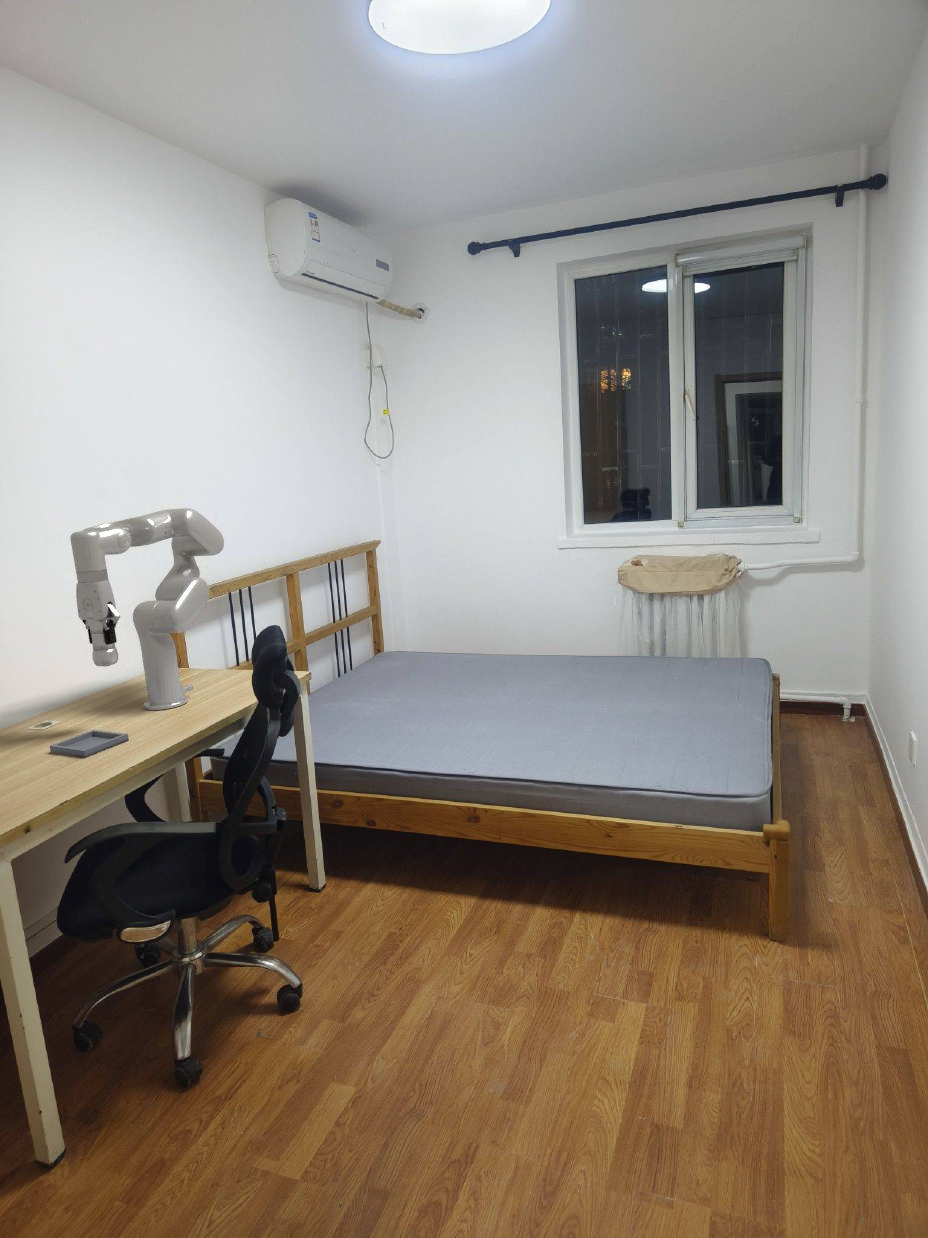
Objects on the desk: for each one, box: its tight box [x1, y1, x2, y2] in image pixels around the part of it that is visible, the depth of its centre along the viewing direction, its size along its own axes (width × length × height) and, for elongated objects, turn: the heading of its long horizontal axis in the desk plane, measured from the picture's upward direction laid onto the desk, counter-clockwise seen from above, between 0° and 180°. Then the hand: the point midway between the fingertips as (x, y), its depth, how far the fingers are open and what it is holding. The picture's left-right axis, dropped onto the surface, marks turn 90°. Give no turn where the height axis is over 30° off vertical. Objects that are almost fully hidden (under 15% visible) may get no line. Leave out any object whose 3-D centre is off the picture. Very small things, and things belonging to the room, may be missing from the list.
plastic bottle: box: [86, 610, 119, 668], centre depth 213 cm, size 6×7×20 cm
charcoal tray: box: [49, 729, 130, 759], centre depth 202 cm, size 13×13×2 cm
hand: (103, 642), depth 213 cm, fingers closed on plastic bottle, 5 cm apart
